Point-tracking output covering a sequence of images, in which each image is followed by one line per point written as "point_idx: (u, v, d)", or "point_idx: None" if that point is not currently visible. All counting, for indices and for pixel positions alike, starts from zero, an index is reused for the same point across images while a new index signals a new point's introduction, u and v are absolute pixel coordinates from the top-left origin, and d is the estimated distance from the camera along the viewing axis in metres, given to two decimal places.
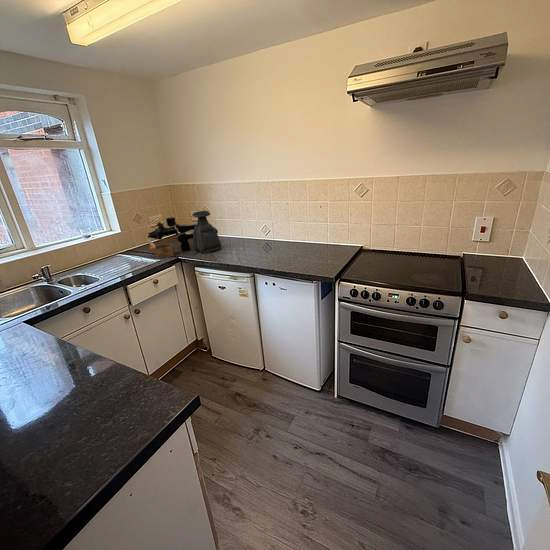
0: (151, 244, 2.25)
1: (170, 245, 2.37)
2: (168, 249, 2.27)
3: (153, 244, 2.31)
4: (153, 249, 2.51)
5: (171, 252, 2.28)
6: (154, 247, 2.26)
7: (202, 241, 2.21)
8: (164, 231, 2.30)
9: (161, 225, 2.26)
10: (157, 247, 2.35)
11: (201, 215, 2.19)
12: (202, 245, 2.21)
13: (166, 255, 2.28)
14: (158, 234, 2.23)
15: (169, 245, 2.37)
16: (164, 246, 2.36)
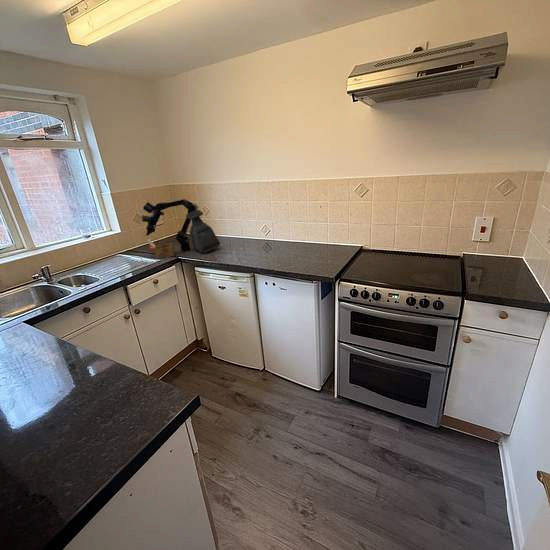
0: (151, 244, 2.25)
1: (170, 245, 2.37)
2: (168, 249, 2.27)
3: (153, 244, 2.31)
4: (153, 249, 2.51)
5: (171, 252, 2.28)
6: (154, 247, 2.26)
7: (200, 242, 2.20)
8: (152, 220, 2.31)
9: (144, 219, 2.28)
10: (157, 247, 2.35)
11: (194, 216, 2.16)
12: (201, 245, 2.21)
13: (166, 255, 2.28)
14: (149, 228, 2.28)
15: (169, 245, 2.37)
16: (164, 246, 2.36)
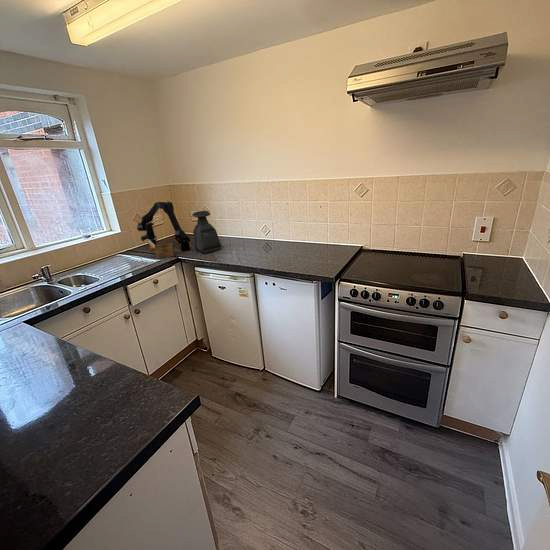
0: (151, 244, 2.25)
1: (170, 245, 2.37)
2: (168, 249, 2.27)
3: (153, 244, 2.31)
4: (153, 249, 2.51)
5: (171, 252, 2.28)
6: (154, 247, 2.26)
7: (203, 241, 2.21)
8: (149, 235, 2.46)
9: (142, 237, 2.43)
10: (157, 247, 2.35)
11: (201, 215, 2.19)
12: (202, 245, 2.21)
13: (166, 255, 2.28)
14: None
15: (169, 245, 2.37)
16: (164, 246, 2.36)
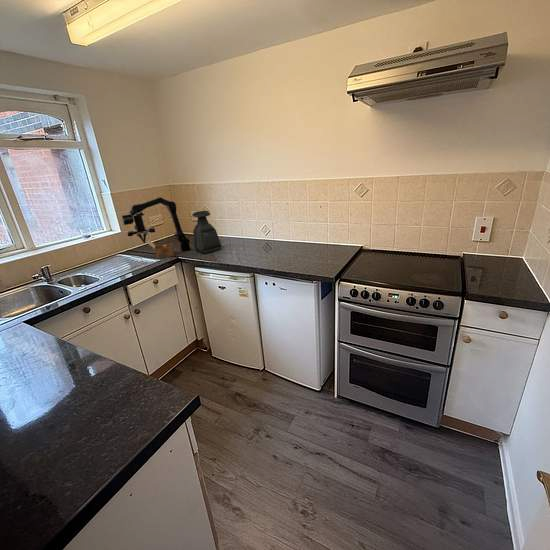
0: (151, 244, 2.25)
1: (170, 245, 2.37)
2: (168, 249, 2.27)
3: (153, 244, 2.31)
4: None
5: (171, 252, 2.28)
6: (154, 247, 2.26)
7: (203, 241, 2.21)
8: None
9: (135, 227, 2.22)
10: (157, 247, 2.35)
11: (201, 215, 2.19)
12: (202, 245, 2.21)
13: (166, 255, 2.28)
14: None
15: (169, 245, 2.37)
16: None
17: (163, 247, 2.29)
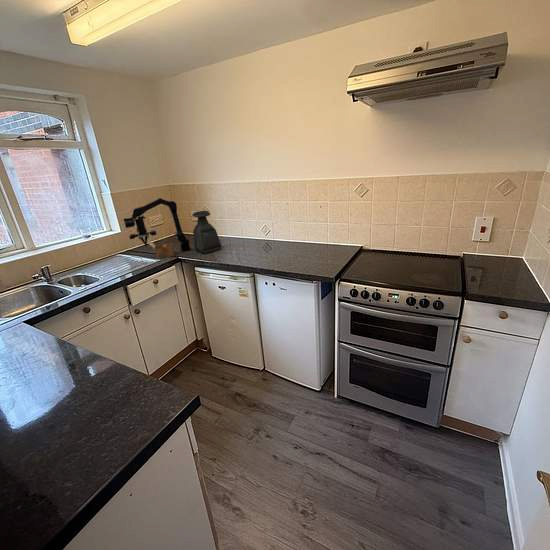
0: (151, 244, 2.25)
1: (170, 245, 2.37)
2: (168, 249, 2.27)
3: (153, 244, 2.31)
4: None
5: (171, 252, 2.28)
6: (154, 247, 2.26)
7: (203, 241, 2.21)
8: None
9: None
10: (157, 247, 2.35)
11: (201, 215, 2.19)
12: (202, 245, 2.21)
13: (166, 255, 2.28)
14: None
15: (169, 245, 2.37)
16: None
17: (163, 247, 2.29)
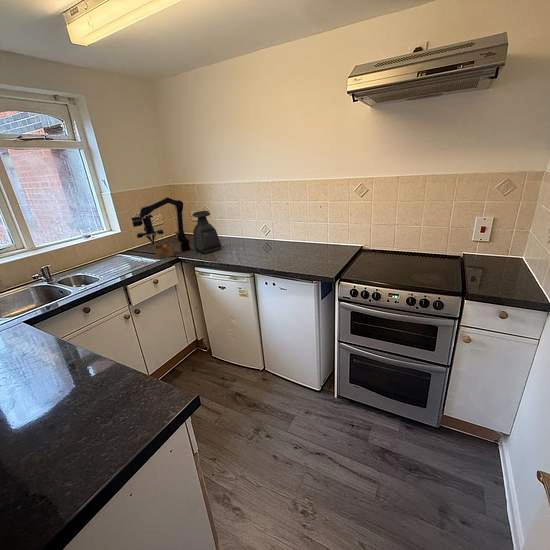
0: None
1: (170, 245, 2.37)
2: (168, 249, 2.27)
3: None
4: None
5: (171, 252, 2.28)
6: None
7: (203, 241, 2.21)
8: None
9: (144, 228, 2.28)
10: (157, 247, 2.35)
11: (201, 215, 2.19)
12: (202, 245, 2.21)
13: (166, 255, 2.28)
14: None
15: (169, 245, 2.37)
16: None
17: (163, 247, 2.29)
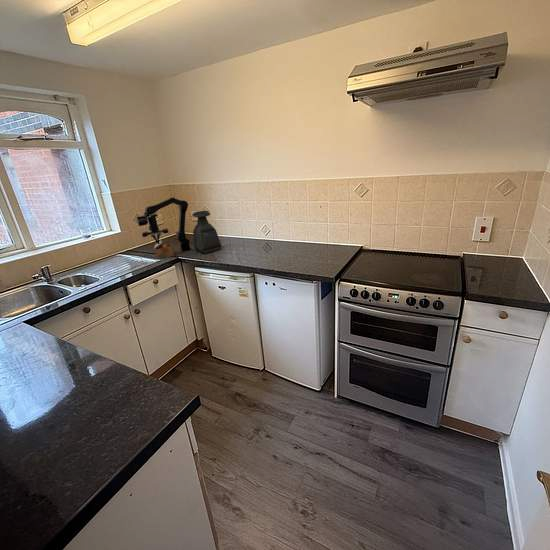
0: (158, 245, 2.27)
1: (170, 245, 2.37)
2: (168, 249, 2.27)
3: (156, 245, 2.32)
4: None
5: (171, 252, 2.28)
6: (154, 247, 2.26)
7: (203, 241, 2.21)
8: None
9: (149, 228, 2.29)
10: (157, 247, 2.35)
11: (201, 215, 2.19)
12: (202, 245, 2.21)
13: (166, 255, 2.28)
14: None
15: (169, 245, 2.37)
16: None
17: (163, 247, 2.29)
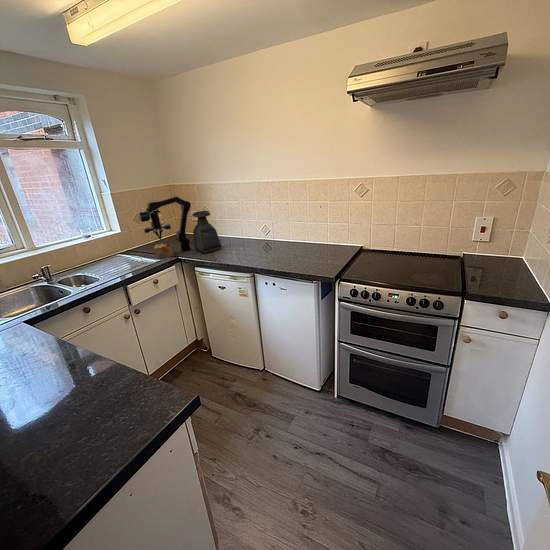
0: None
1: (170, 245, 2.37)
2: (168, 249, 2.27)
3: None
4: None
5: (171, 252, 2.28)
6: (154, 248, 2.26)
7: (203, 241, 2.21)
8: None
9: (151, 224, 2.29)
10: None
11: (201, 215, 2.19)
12: (202, 245, 2.21)
13: (166, 255, 2.28)
14: None
15: (169, 245, 2.37)
16: None
17: (163, 247, 2.29)
